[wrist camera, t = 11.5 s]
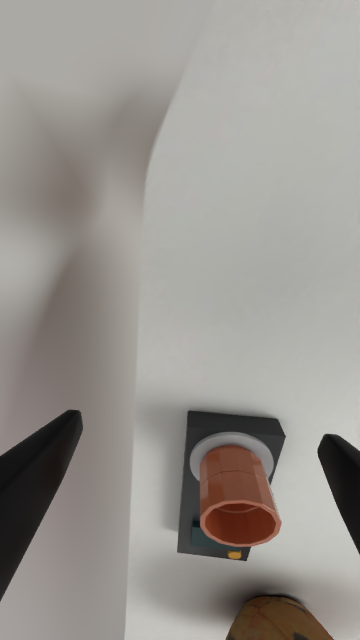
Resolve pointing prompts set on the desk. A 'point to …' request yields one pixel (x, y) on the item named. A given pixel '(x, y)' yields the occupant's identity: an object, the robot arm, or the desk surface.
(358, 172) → the desk surface
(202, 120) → the desk surface
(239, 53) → the desk surface
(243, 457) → the terracotta cup
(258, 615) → the bowl
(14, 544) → the robot arm
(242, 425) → the scale
